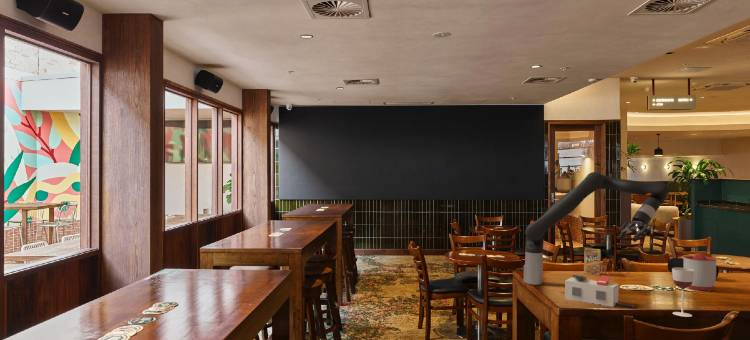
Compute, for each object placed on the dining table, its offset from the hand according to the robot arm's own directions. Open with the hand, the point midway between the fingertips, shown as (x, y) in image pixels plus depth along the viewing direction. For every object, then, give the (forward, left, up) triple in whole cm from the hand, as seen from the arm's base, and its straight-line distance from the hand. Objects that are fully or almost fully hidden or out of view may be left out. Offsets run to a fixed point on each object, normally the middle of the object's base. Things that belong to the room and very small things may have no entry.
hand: (626, 239), depth 257 cm
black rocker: (-18, -16, -20) cm, 31 cm away
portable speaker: (+19, +89, -30) cm, 95 cm away
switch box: (-8, -16, -29) cm, 34 cm away
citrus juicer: (+26, +53, -29) cm, 66 cm away
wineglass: (+26, -13, -29) cm, 41 cm away
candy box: (-30, +55, -29) cm, 69 cm away
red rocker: (-7, -15, -20) cm, 26 cm away
